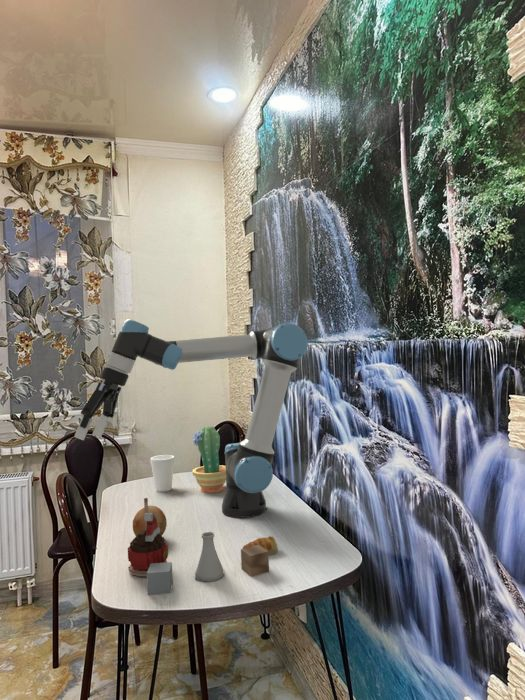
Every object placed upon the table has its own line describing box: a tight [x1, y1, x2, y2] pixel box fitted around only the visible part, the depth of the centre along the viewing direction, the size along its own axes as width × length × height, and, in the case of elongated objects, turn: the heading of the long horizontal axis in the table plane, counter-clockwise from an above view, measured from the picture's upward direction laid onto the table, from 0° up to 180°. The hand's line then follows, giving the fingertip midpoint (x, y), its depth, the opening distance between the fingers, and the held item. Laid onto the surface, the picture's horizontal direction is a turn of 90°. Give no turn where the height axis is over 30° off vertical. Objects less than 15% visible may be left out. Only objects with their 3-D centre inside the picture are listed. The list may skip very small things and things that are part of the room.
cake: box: [127, 497, 169, 577], centre depth 120 cm, size 11×9×18 cm
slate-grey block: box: [146, 561, 174, 596], centre depth 110 cm, size 5×5×5 cm
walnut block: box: [240, 545, 270, 578], centre depth 117 cm, size 5×5×5 cm
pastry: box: [241, 535, 279, 556], centre depth 128 cm, size 9×7×4 cm
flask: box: [194, 531, 225, 582], centre depth 116 cm, size 7×7×10 cm
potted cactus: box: [192, 425, 226, 493], centre depth 192 cm, size 15×15×25 cm
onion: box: [132, 505, 168, 537], centre depth 140 cm, size 10×10×10 cm
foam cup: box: [150, 454, 175, 493], centre depth 194 cm, size 10×9×13 cm
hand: (88, 437), depth 140 cm, fingers open, 13 cm apart
